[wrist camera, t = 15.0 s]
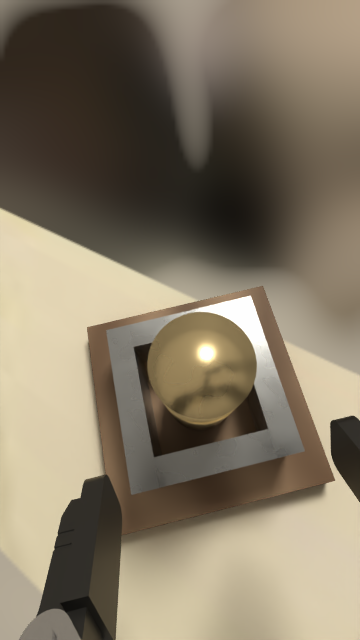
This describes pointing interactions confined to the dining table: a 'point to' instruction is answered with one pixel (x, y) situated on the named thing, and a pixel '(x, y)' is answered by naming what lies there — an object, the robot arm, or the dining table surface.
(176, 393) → the gold dome cylinder
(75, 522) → the robot arm
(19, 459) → the dining table surface
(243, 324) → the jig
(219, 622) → the dining table surface
